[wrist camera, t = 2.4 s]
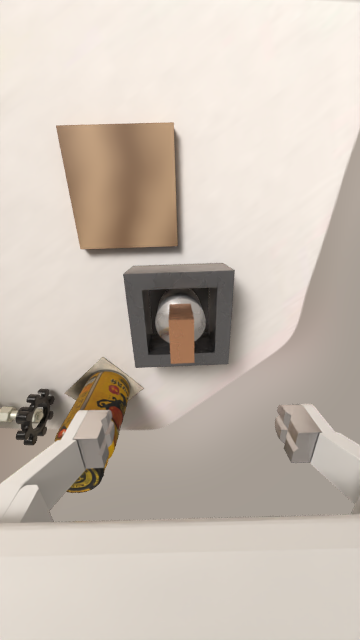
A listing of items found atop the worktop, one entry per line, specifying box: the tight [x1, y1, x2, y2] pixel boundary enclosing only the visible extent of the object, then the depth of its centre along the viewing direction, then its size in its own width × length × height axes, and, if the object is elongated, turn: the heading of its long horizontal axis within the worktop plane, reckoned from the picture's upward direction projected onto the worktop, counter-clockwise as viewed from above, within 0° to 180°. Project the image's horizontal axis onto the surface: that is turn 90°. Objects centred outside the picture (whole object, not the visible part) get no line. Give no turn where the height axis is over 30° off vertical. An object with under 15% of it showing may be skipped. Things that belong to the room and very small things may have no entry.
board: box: [56, 122, 178, 249], centre depth 20 cm, size 10×10×1 cm
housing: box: [123, 263, 235, 368], centre depth 23 cm, size 10×10×5 cm
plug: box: [155, 288, 206, 364], centre depth 21 cm, size 5×5×9 cm
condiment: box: [55, 357, 144, 493], centre depth 25 cm, size 7×8×12 cm
